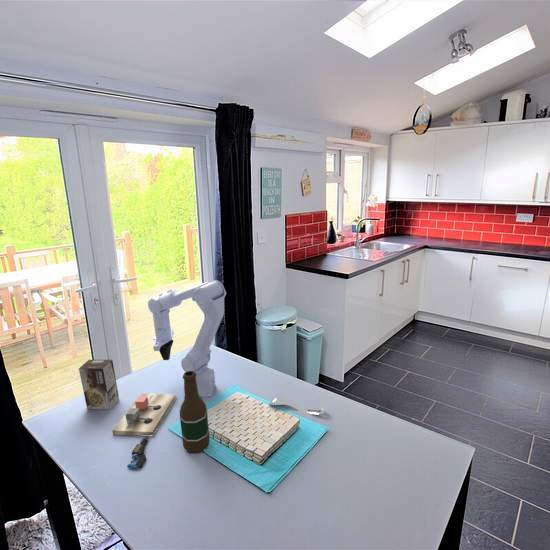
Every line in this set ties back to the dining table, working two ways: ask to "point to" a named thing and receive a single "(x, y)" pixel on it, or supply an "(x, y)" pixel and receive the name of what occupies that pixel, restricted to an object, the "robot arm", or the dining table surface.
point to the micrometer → (139, 455)
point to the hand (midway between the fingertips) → (166, 359)
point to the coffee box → (99, 384)
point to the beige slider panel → (145, 416)
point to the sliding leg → (143, 403)
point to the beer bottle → (193, 417)
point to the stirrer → (283, 402)
